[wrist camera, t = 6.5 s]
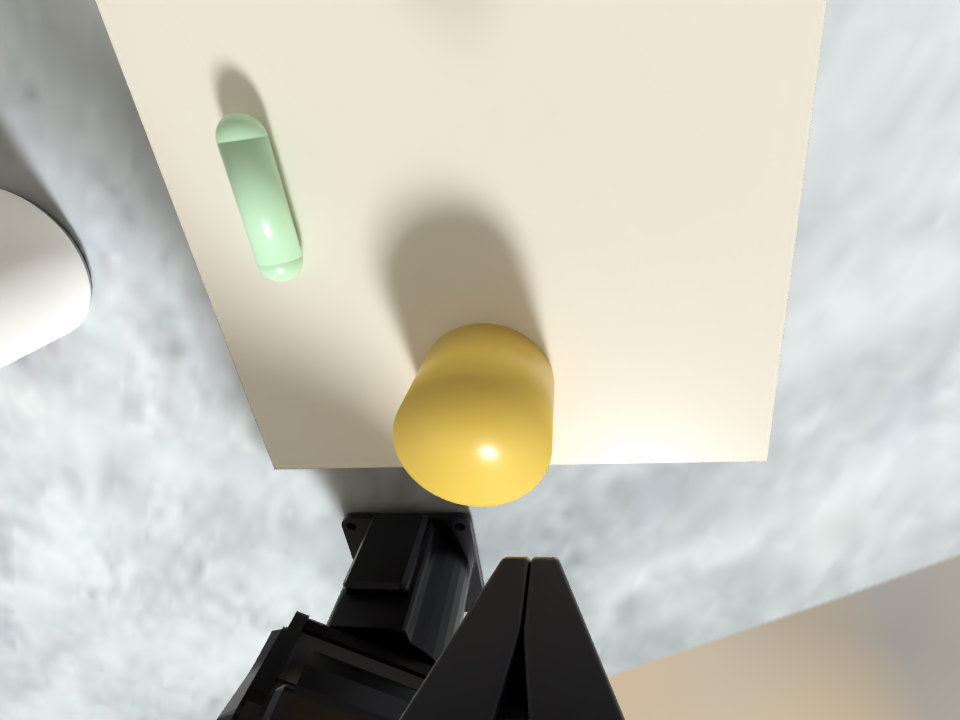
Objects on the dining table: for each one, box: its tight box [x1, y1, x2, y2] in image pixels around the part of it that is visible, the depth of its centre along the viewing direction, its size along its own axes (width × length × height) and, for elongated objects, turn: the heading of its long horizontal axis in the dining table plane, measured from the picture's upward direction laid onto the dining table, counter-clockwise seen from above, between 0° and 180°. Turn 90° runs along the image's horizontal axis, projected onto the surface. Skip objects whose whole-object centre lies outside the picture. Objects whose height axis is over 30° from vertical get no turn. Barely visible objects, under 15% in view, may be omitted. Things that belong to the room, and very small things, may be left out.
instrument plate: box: [95, 0, 827, 507], centre depth 13 cm, size 15×16×4 cm
